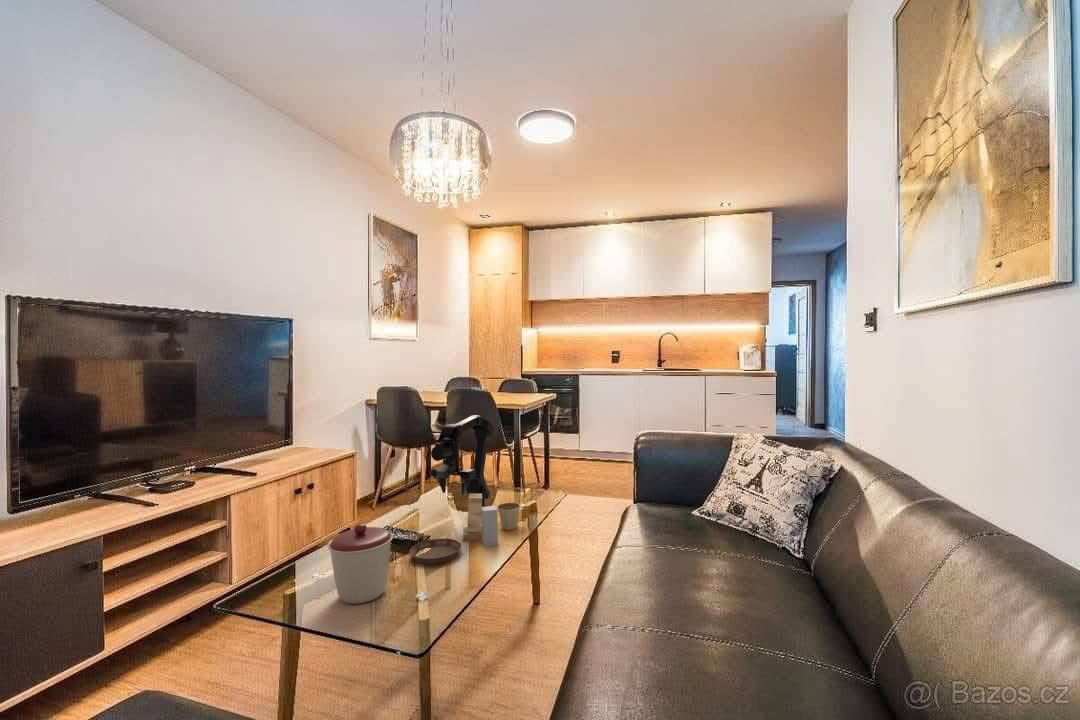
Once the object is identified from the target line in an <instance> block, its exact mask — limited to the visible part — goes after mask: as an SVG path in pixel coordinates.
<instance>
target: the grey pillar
mask: <svg viewBox="0 0 1080 720" xmlns="http://www.w3.org/2000/svg"><path fill="white" fill-rule="evenodd" d="M498 518H499V517H498V509H497V506H495V505H489V506H486V507H481V526H482V540H481V543H482V544H483V546H484V548H487V547H493V546H499V525H498V522H499V521H498Z"/></svg>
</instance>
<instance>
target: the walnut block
mask: <svg viewBox="0 0 1080 720" xmlns="http://www.w3.org/2000/svg"><path fill="white" fill-rule="evenodd" d="M462 530H463V531H462V542H475V541H482V525H481V532H467V526H464V527H463V528H462Z"/></svg>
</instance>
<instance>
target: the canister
mask: <svg viewBox="0 0 1080 720" xmlns="http://www.w3.org/2000/svg"><path fill="white" fill-rule="evenodd" d="M393 539H394V534H393V533H392V532H391V530H390V531H389V530H387V529H385V528H383V527H378V526H377V527H376V526H367V525H366V524H365V523H357V524H356V525H355V526H354V527H353V529H349V530H346V531H343V532H341V533H339V534H337V535H336V536H334V538H332V539H330V541H328V543H327V549H328V550H329V551H330V559H331V564H332V571H333V577H334V583H335V587H336V588H335V589H336V592H337V595H338V597H339V598H340V600H341V601H343V602H344V603H346V604H347V603H348V604H351V605H352V604H353V605H354V604H357V605H359V604H364V603H368V602H371V601H373V600H375V599H377V598H379V597H380V596H381V595H382V594H384V592H385V590H386V588H387V585H388V579H389V571H390V558H391V557H390V556H391V555H390V554H391V543H392V542H391V541H392V540H393Z"/></svg>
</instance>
